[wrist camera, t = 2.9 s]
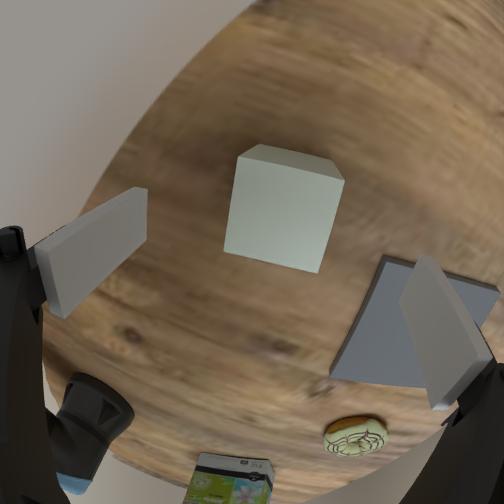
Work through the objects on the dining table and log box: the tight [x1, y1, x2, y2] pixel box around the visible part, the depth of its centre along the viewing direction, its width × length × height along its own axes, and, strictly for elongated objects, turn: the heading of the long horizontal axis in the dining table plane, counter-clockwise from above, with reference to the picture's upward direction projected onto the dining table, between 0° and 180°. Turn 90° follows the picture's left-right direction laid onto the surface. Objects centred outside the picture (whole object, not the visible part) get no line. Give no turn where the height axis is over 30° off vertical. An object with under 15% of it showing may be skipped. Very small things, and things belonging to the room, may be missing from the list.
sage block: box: [223, 144, 345, 273], centre depth 20 cm, size 6×6×8 cm
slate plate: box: [329, 255, 501, 388], centre depth 27 cm, size 16×16×1 cm
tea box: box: [183, 452, 275, 504], centre depth 44 cm, size 15×10×15 cm, turn 100°
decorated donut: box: [323, 416, 389, 457], centre depth 37 cm, size 10×11×4 cm
